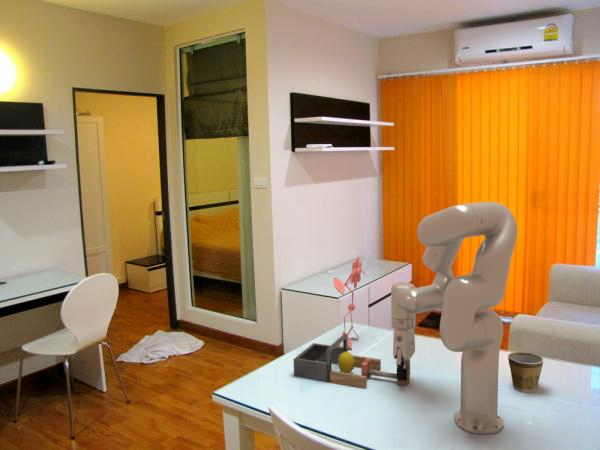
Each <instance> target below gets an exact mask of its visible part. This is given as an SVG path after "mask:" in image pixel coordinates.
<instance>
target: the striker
mask: <svg viewBox="0 0 600 450" xmlns="http://www.w3.org/2000/svg"><path fill="white" fill-rule="evenodd" d="M369 358H370V357H368V358H366V360H365V361H364V362H363V363H362V364H361V368H360V370H361V372H360V373H361V374H360V375H362V376H367V380H368V379H369V377H371V376H374V377H375V376H376V377H383V378H388V379H395V380H396V381H397V382H396V383H397V384H399V385H404V386H408V385H409V383H410V380H411V378H410V377H411V376H410V375H411V359H410V360H409V361H406V368H407V380H406V381H404V380H398V379H397V373H393V372H388V371H381V370H380V371H379V370H372V369H371V359H369ZM402 358H403V357H402ZM401 362H403V364H404V361H401Z"/></svg>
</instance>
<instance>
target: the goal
mask: <svg viewBox="0 0 600 450" xmlns="http://www.w3.org/2000/svg"><path fill="white" fill-rule="evenodd" d="M347 334H348V333H346V334H343V335H341V336H340V337H339V338H338V339H336V340H335V341H334V342H333V343H332V344H331V345H328V344H323V343H322V344H321V343H311V344H310V345H309V346H308V347H307V348H306V349H304V350H303V351H301V352H300V353H299V354H298V355H297V356H296V357H294V358H293V377H297V378H303V379H307V380H314V381H319V382H325V383H330V372H331V371H333V370H332V364H335V365H338V359H339V356H340V355H341V354H342V353H343V352H345V351H347V352H349V351H348V350H349V349H348V348H349V347H348V337H347ZM340 343H341V344H342V343H343V344H342V346H339V347H338V345H339V344H340ZM341 344H340V345H341Z"/></svg>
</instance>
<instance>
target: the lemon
mask: <svg viewBox="0 0 600 450" xmlns="http://www.w3.org/2000/svg"><path fill="white" fill-rule="evenodd" d="M352 355H353V354H352V353H351V352H349V351H348V352H347V351H345V352H343V353H342V354H341V355H340V356H339V359H338V364H337V365H338V369H339V370H340V372H344V373H350V374H351V372H352V371H353V370H354V369H355V367H354V364H355V362H354V357H353V356H352Z"/></svg>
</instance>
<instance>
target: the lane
mask: <svg viewBox="0 0 600 450" xmlns="http://www.w3.org/2000/svg"><path fill="white" fill-rule="evenodd" d="M352 356H353V357H354V362H355V364H354V368H360V369H361V364H362V363H363V362H364V361H365V360H366V358H369V359H371V370H375V371H381V369H382V364H381V363H382V359H380V358H374V357H369V356H368V357H367V356H360V355H355V354H352ZM329 383H332V384H336V385H343V386H349V387H353V388H354V387H355V388H360V389H367V388H368V385H367V384H368V379H367V376H362V375H361V374H356V373H351V372H350V373H344V372H342V371H336V370H332V371H331V372H330V382H329Z"/></svg>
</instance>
